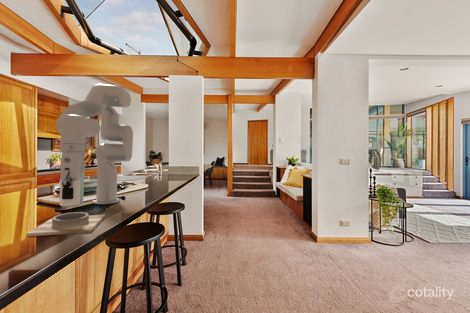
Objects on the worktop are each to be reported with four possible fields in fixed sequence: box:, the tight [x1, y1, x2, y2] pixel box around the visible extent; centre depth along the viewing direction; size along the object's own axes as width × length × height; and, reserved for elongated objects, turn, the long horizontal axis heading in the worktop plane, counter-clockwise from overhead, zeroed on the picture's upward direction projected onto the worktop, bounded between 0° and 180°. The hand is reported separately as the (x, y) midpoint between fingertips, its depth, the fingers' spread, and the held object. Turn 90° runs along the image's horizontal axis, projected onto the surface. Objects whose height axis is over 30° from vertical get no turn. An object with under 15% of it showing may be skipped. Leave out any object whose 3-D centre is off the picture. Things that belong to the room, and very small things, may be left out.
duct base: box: [26, 211, 106, 237], centre depth 82 cm, size 18×18×4 cm
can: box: [59, 173, 85, 208], centre depth 82 cm, size 7×7×12 cm
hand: (71, 196), depth 82 cm, fingers closed on can, 7 cm apart
